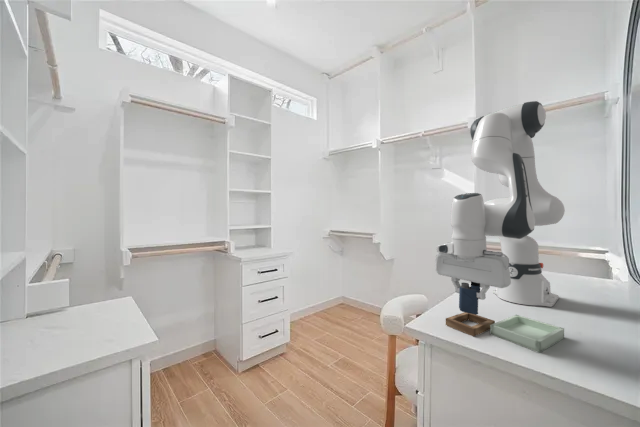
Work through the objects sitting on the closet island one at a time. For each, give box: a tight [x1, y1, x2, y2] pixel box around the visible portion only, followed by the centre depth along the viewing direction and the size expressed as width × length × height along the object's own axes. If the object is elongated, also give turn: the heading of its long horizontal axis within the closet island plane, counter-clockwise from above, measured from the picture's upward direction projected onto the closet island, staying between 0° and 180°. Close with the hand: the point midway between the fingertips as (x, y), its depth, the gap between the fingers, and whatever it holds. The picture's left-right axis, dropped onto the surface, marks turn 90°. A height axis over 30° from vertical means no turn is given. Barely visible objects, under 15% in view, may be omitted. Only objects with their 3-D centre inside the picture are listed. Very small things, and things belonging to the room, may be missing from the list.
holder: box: [445, 312, 496, 337], centre depth 74 cm, size 10×8×2 cm
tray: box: [489, 314, 565, 354], centre depth 68 cm, size 14×11×2 cm
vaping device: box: [458, 281, 481, 315], centre depth 74 cm, size 3×5×12 cm, turn 54°
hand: (469, 295), depth 74 cm, fingers closed on vaping device, 5 cm apart
